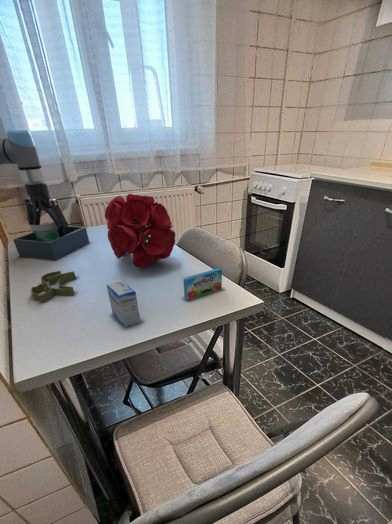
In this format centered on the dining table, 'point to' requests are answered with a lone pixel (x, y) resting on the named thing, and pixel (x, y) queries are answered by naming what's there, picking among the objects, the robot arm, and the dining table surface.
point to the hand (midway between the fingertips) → (54, 244)
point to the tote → (52, 244)
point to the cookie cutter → (52, 279)
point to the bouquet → (139, 229)
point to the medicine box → (123, 303)
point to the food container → (46, 231)
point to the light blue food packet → (202, 284)
